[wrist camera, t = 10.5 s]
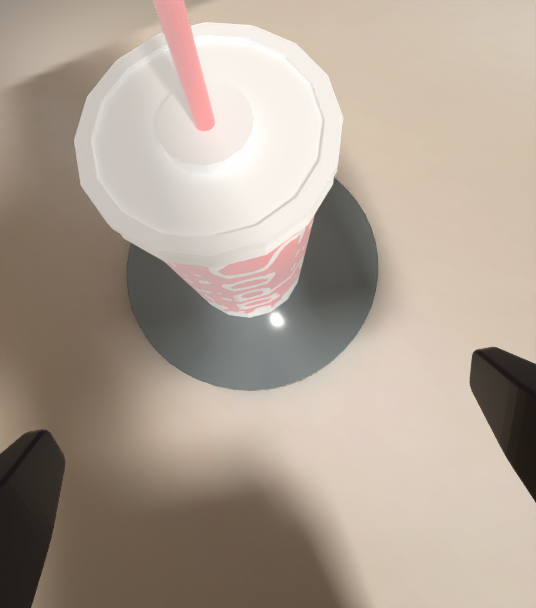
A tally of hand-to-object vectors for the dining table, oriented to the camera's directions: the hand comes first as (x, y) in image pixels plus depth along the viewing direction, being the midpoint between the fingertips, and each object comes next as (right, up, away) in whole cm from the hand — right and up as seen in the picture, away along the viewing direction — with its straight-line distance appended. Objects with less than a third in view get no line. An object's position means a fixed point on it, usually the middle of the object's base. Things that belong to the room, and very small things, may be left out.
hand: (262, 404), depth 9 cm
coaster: (-1, +4, +10) cm, 11 cm away
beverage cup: (-1, +4, +9) cm, 10 cm away
